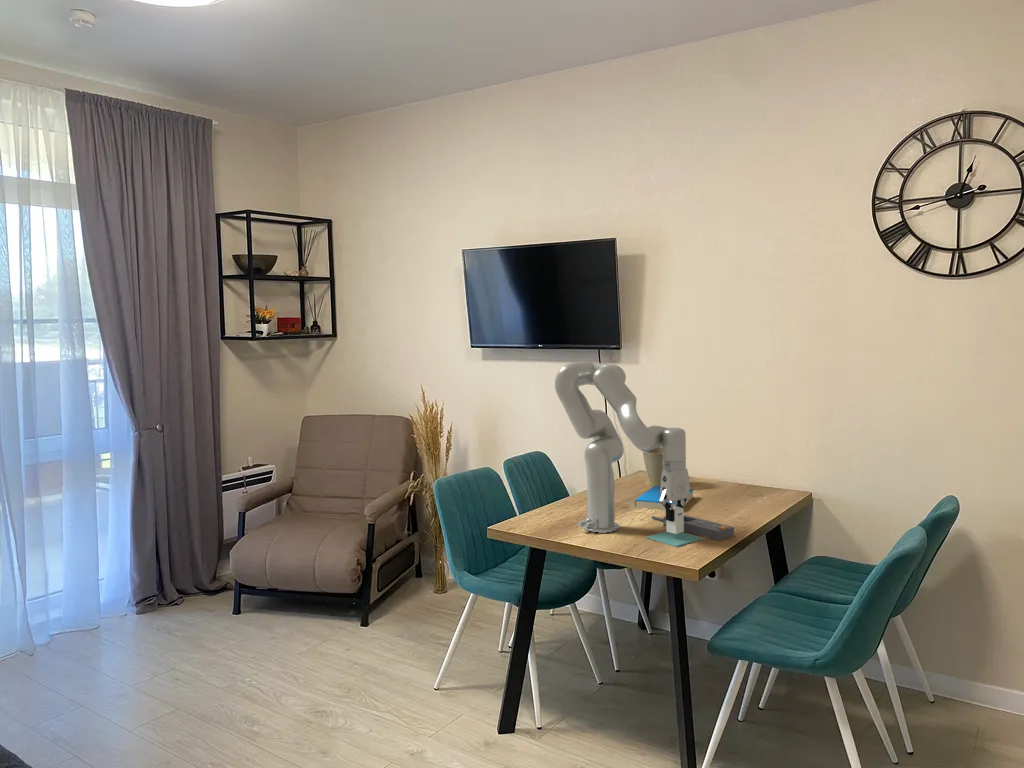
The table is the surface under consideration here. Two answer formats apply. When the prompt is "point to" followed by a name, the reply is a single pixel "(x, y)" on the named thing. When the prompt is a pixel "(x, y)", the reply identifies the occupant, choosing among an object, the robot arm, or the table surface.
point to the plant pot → (654, 465)
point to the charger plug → (676, 521)
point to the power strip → (704, 527)
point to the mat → (674, 538)
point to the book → (654, 499)
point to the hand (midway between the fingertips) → (674, 518)
